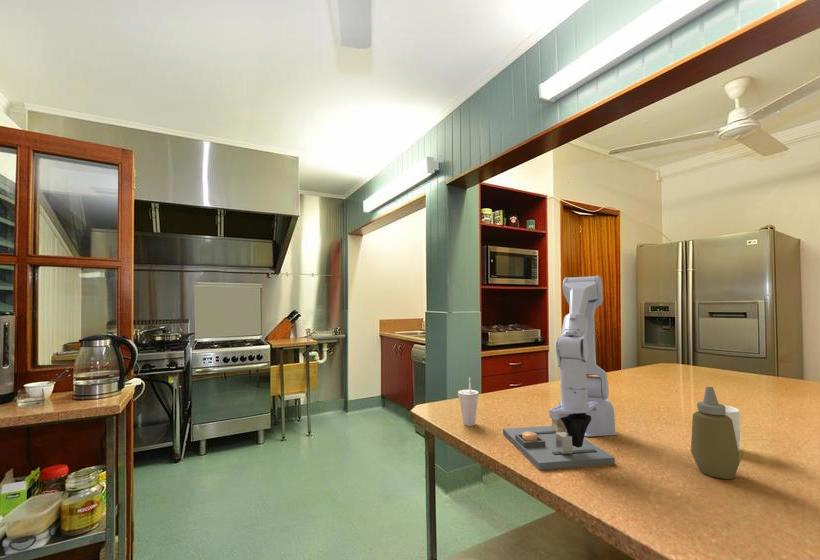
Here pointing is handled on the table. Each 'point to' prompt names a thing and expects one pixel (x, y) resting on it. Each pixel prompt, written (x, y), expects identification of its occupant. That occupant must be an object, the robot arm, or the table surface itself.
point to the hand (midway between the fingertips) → (576, 445)
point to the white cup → (734, 421)
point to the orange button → (529, 436)
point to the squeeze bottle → (714, 439)
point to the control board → (555, 450)
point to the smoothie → (468, 405)
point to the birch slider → (558, 425)
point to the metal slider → (564, 442)
